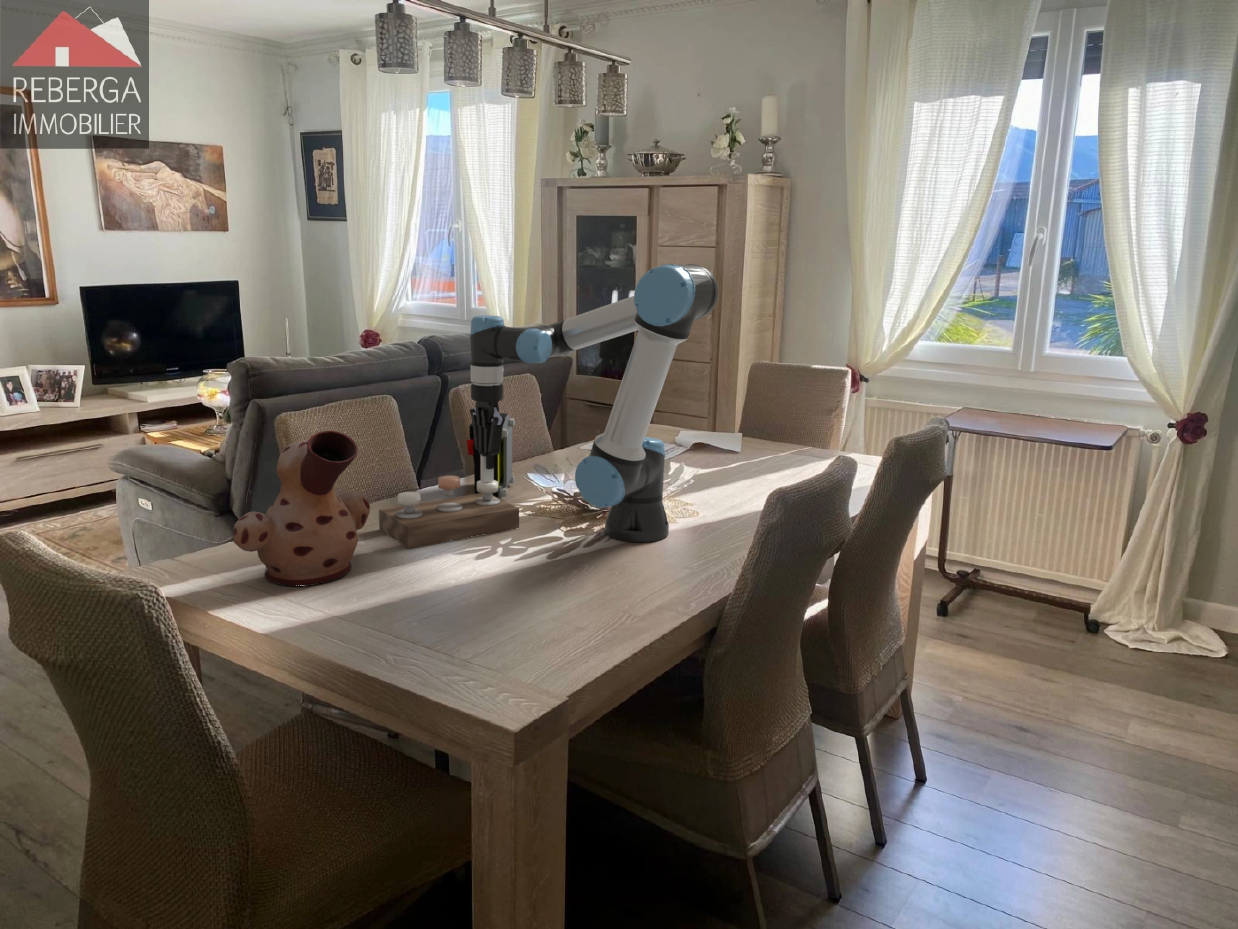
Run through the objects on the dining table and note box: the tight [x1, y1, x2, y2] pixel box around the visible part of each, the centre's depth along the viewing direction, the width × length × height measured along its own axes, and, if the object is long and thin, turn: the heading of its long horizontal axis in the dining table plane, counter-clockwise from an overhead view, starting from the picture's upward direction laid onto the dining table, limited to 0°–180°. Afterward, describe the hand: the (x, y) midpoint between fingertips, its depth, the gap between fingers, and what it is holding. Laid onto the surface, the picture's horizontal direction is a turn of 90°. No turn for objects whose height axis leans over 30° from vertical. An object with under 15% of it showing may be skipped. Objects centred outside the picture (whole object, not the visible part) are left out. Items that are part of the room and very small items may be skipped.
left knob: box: [397, 491, 421, 513], centre depth 209 cm, size 5×5×4 cm
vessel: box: [232, 430, 371, 587], centre depth 182 cm, size 29×22×30 cm
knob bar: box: [378, 493, 520, 550], centre depth 216 cm, size 16×28×6 cm, turn 127°
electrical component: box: [466, 412, 516, 500], centre depth 246 cm, size 18×10×20 cm, turn 179°
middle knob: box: [437, 475, 461, 497], centre depth 214 cm, size 5×5×4 cm
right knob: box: [477, 480, 498, 500], centre depth 220 cm, size 5×5×4 cm
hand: (487, 481), depth 220 cm, fingers closed
